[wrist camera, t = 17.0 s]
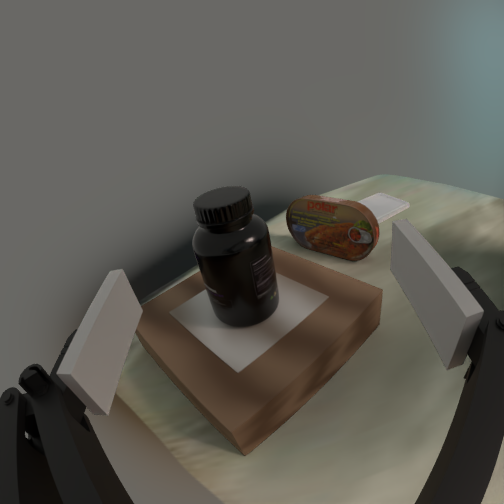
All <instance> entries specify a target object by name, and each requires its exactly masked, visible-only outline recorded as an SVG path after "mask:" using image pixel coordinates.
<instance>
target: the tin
mask: <svg viewBox="0 0 504 504" xmlns="http://www.w3.org/2000/svg"><path fill="white" fill-rule="evenodd" d="M286 222H287V226H288V229H289V231H290V233H291V235H292V236H293V238H294V239H295V240H296V241H297V242H298V243H299V244H300V245H301V246H303V247H305V248H307V249H310V250H314V251H318V252H321V253H325V254H329V255H333V256H336V257H340V258H343V259H347V260H352V261H357V260H361V259H363V258H365V257H367V256H368V255H369V254H370V252H371V251H372V250H373V248H374V247H375V246H376V244H377V242H378V239H379V225H378V221H377V219H376V217H375V215H374V214H373V213H372V211H371V210H370V209H369V208H367V207H366V206H365V205H363V204H361V203H359V202H355V201H349V200H343V199H336V198H330V197H324V196H317V195H307V196H304V197H302V198H300V199H296V200H294V201H293V202H292V203H291V204H290V205H289V207H288V209H287V213H286Z"/></svg>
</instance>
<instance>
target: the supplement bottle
mask: <svg viewBox="0 0 504 504" xmlns="http://www.w3.org/2000/svg"><path fill="white" fill-rule="evenodd" d="M193 206H194V210H195V214H196V220H197V224H198V225H199V226H200V227H199V228H198V229H197V230H196V232H195V234H194V237H193V249H194V253H195V256H196V259H197V263H198V266H199V269H200V272H201V275H202V278H203V281H204V284H205V287H206V291H207V294H208V297H209V300H210V303H211V305H212V308H213V311H214V313H215V315H216V317H217V318H218V319H219V320H220V321H221V322H223V323H225V324H227V325H230V326H233V327H249V326H253V325H257V324H259V323H261V322H263V321H265V320H267V319H268V318H269V317H270V316H271V315H272V314H273V313H274V312H275V311H276V309H277V307H278V304H279V291H278V284H277V278H276V272H275V265H274V259H273V253H272V247H271V241H270V235H269V230H268V227H267V225H266V223H265V222H264V221H263V220H262V219H261V218H260V217H259V216H257V215H255V214H253V213H254V207H253V204H252V202H251V197H250V192H249V190H248V189H247V188H244V187H241V186H227V187H222V188H217V189H214V190H211V191H208V192H206V193H204V194H202V195H200V196H199V197H197V199H195V201H194V204H193Z"/></svg>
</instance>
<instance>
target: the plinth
mask: <svg viewBox="0 0 504 504" xmlns="http://www.w3.org/2000/svg"><path fill="white" fill-rule="evenodd" d="M271 247H272V246H271ZM272 253H273V259H274V265H275V272H276V278H277V284H278V291H279V304H278V307H277V309H276V311H275V312H274V313H273V314H272V315H271V316H270V317H269V318H268V319H267V320H265V321H263V322H261V323H259V324H257V325H253V326H249V327H233V326H230V325H227V324H225V323H223V322H221V321H220V320H219V319H218V318H217V317H216V315H215V313H214V311H213V308H212V305H211V303H210V300H209V297H208V294H207V291H206V287H205V284H204V281H203V278H202V275H201V272H200V271H199V272H197V273H196V274H194V275H192V276H191V277H189V278H187V279H186V280H184V281H182V282H181V283H179V284H177V285H176V286H174V287H172V288H171V289H169V290H167V291H166V292H164V293H162V294H161V295H159V296H157V297H156V298H154V299H152V300H151V301H149V302H147V303H146V304H144V305H142V306H141V308H142V310H143V312H142V314H141V317H140V320H139V323H138V325H137V328H136V331H135V333H136V335H137V336H138V338H139V340H140V342H141V343H142V345H143V346H144V348H145V349H146V350H147V351H148V353H149V354H150V355H151V356H152V358H153V359H154V360H155V361H156V362H157V364H158V365H159V366H160V367H161V368H162V370H163V371H164V372H165V373H166V374H167V376H168V377H169V378H170V379H171V380H172V381H173V382H174V384H175V385H176V386H177V387H178V388H179V389H180V390H181V392H182V393H183V394H184V395H185V396H186V397H187V398H188V399H189V400H190V401H191V403H192V404H193V405H194V406H195V407H196V408H197V409H198V410H199V411H200V412H201V413H202V414H203V415H204V416H205V417H206V418H207V419H208V421H209V422H210V423H211V424H212V425H213V426H214V427H215V428H216V429H217V430H218V431H219V432H220V433H221V434H222V435H223V436H224V437H225V438H226V439H228V440H229V441H230V442H231V443H232V444H233V445H234V446H235V447H236V448H237V449H238V450H239V451H240V452H241V453H242V454H243V455H244V456H246V455H247V454H248V453H250V452H251V451H252V450H253V449H254V448H256V447H257V446H258V445H259V444H260V443H262V442H263V441H264V440H265V439H266V438H268V437H269V436H270V435H271V434H272V433H273V432H275V431H276V430H277V429H278V428H279V427H280V426H281V425H282V424H284V423H285V422H286V421H287V420H288V419H289V418H290V417H291V416H292V415H294V414H295V413H296V412H297V411H298V410H299V409H300V408H301V407H302V406H303V405H304V404H305V403H306V402H307V401H308V400H309V399H310V398H311V397H313V396H314V395H315V394H316V393H317V392H318V391H319V390H320V389H321V388H322V387H323V386H324V385H325V384H326V383H327V382H328V381H329V380H330V378H331V377H332V376H333V375H334V374H335V373H336V372H337V371H338V370H339V369H340V368H341V367H342V366H343V365H344V364H345V363H346V362H347V361H348V359H349V358H350V357H351V356H352V355H353V354H354V353H355V352H356V351H357V350H358V348H359V347H360V346H361V345H362V344H363V343H364V342H365V341H366V339H367V338H368V337H369V336H370V335H371V334H372V332H373V331H374V330H375V329H376V328H377V326H378V325H379V322H380V313H381V303H382V292H383V290H382V289H380V288H377V287H375V286H372V285H369V284H367V283H364V282H362V281H359V280H357V279H354V278H352V277H349V276H347V275H344V274H342V273H339V272H336V271H334V270H331V269H329V268H326V267H324V266H321V265H319V264H316V263H313V262H311V261H308V260H306V259H303V258H300V257H298V256H295V255H293V254H290V253H288V252H285V251H282V250H280V249H277V248H275V247H272Z"/></svg>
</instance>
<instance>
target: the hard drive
mask: <svg viewBox="0 0 504 504" xmlns="http://www.w3.org/2000/svg"><path fill="white" fill-rule="evenodd" d="M357 202H359V203H361V204H363V205H365V206H366V207H367V208H369V209H370V210H371V211H372V213H373V214H374V215H375V217H376V219H377V221H378V224H379V223H381V222H382V221H384V220H386V219H388V218H390V217H392V216H394V215H395V214H397V213H399V212H401V211H403V210H405V209H407V208H408V207H409V203H408V202H406V201H404V200H401V199H398V198H395V197H392V196H389V195H386V194H383V193H377V194H374V195H372V196H369V197H367V198H365V199H362V200H360V201H357Z"/></svg>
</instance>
